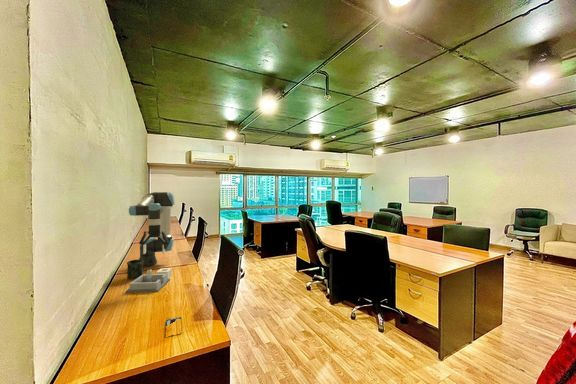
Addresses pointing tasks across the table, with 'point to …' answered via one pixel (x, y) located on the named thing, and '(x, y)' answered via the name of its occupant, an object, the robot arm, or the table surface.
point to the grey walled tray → (148, 283)
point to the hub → (165, 272)
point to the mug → (134, 269)
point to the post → (149, 275)
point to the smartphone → (171, 321)
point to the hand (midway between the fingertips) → (154, 253)
